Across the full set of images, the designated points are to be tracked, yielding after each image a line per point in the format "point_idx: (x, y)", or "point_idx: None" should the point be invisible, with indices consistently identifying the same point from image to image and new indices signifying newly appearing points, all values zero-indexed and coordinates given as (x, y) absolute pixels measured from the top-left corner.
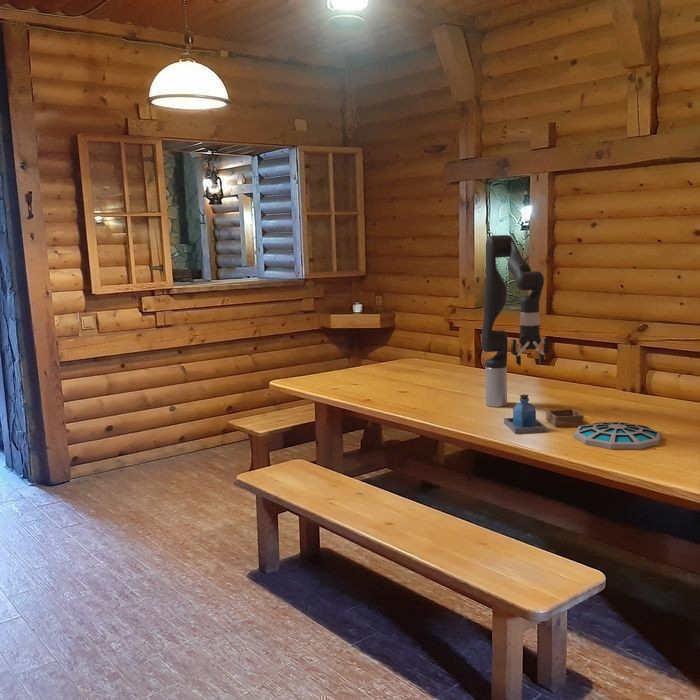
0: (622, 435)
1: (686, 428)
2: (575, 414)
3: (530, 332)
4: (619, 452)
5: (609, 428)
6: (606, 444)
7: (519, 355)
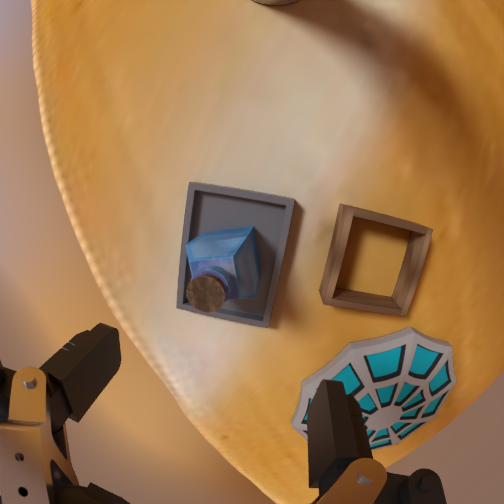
0: None
1: (496, 371)
2: (413, 262)
3: None
4: None
5: None
6: None
7: (62, 424)
